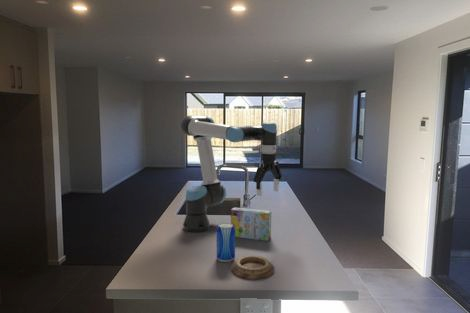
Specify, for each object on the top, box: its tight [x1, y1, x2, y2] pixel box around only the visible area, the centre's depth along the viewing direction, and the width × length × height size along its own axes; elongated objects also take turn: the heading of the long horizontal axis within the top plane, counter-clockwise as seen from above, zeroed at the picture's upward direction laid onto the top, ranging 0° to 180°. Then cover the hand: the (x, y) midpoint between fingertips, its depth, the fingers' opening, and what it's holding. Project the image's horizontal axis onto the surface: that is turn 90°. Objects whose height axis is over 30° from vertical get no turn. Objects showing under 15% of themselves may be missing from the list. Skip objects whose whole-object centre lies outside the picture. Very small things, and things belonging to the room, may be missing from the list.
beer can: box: [216, 222, 236, 263], centre depth 159 cm, size 8×8×16 cm
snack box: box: [230, 207, 272, 242], centre depth 187 cm, size 21×6×15 cm, turn 71°
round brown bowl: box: [231, 254, 275, 281], centre depth 150 cm, size 18×18×3 cm
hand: (267, 193), depth 184 cm, fingers open, 13 cm apart
